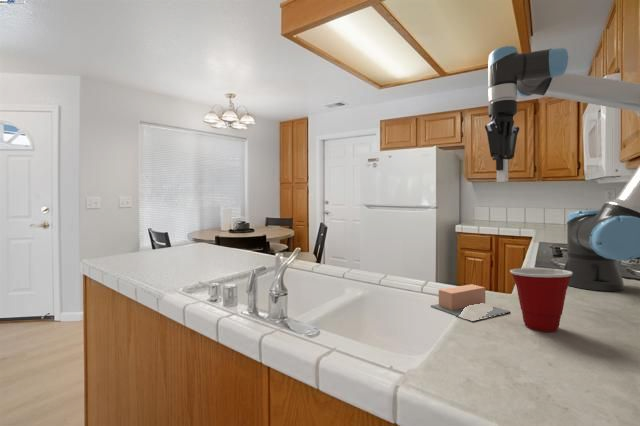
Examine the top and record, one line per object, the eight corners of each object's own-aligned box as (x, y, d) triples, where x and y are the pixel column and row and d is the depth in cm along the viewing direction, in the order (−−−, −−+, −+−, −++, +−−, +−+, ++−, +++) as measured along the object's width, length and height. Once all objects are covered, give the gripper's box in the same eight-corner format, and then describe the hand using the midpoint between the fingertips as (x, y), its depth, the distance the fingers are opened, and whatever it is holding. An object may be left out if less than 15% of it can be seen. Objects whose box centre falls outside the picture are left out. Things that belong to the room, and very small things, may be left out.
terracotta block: (471, 284, 87) (438, 289, 81) (485, 287, 83) (451, 293, 78) (471, 299, 87) (438, 305, 81) (485, 303, 83) (451, 310, 78)
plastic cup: (530, 315, 75) (530, 263, 75) (584, 331, 65) (584, 271, 65) (497, 322, 71) (498, 267, 70) (550, 341, 61) (550, 276, 60)
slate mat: (466, 300, 87) (466, 298, 87) (510, 313, 77) (510, 311, 77) (430, 307, 82) (430, 305, 82) (471, 322, 71) (472, 320, 71)
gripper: (504, 108, 104) (504, 183, 104) (476, 103, 98) (476, 182, 98) (528, 101, 97) (528, 181, 97) (500, 95, 91) (499, 180, 91)
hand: (502, 181), depth 98 cm, fingers closed
